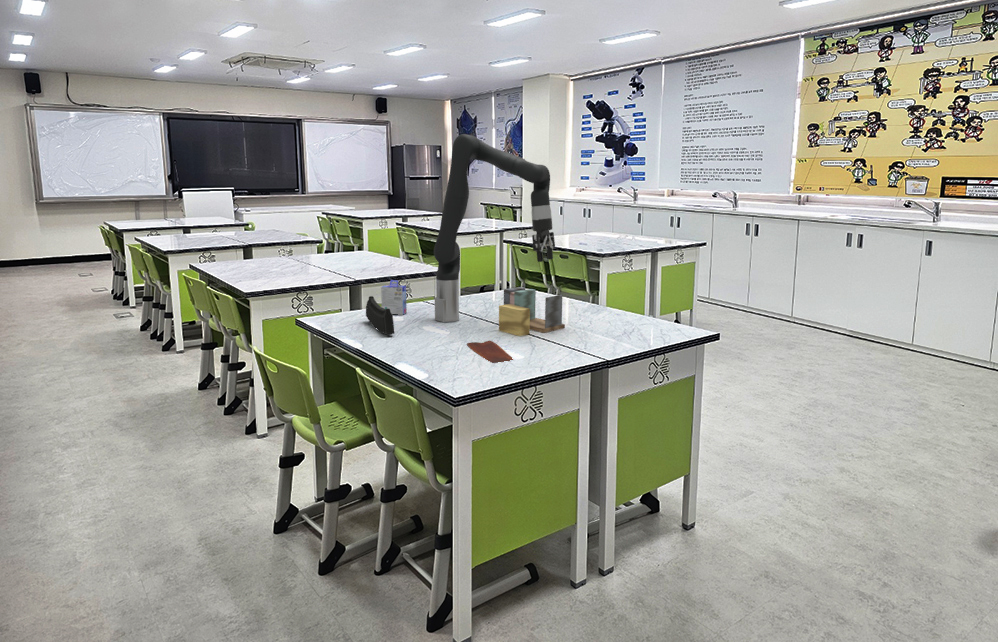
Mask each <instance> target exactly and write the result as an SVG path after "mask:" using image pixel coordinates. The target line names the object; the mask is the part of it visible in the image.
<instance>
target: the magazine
mask: <svg viewBox="0 0 998 642" xmlns="http://www.w3.org/2000/svg"><path fill="white" fill-rule="evenodd" d="M365 317H366V318H367V320H368V321H369V323H370V324H371V326H372V325H373V326H374V327H375V328H377V329H378V330H379V331H380V332H379V331H378V330H377V331H378V332H379V333H381V332H382V333H381V334H385V335H394V334H395V327H394V326H395V325H394V318H393V315H392V313H391V312H390V309H389V308H388V309H384V308H382V305H381V306H380V304H379V303H378V302H377V301H376V299H375V298H374V296H373V295H369V296H368V300H367V302H366V305H365ZM373 326H372V327H373ZM374 327H373V328H374ZM375 328H374V329H375Z"/></svg>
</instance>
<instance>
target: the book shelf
mask: <svg viewBox="0 0 998 642" xmlns="http://www.w3.org/2000/svg"><path fill="white" fill-rule="evenodd" d="M536 293H537V291H536V289H533V288H529V289H528V288H526V287H522V286H518V287H510V288H504V289H503V305H506V304H511V305H515V306H520V307H524V308H529V309H530V330H531V331H535V332H537V333H538V332H539V333H548V332H552V331H553V332H554V331H558V330H562V329H563V330H564V329H565V328H566V324H564V323H563V322H562V321H563V294H559V295H553V296H547V297H545V302H544V303H545V306H544V308H545V309H544V319H542V318H538V317H536V300H537V299H536Z"/></svg>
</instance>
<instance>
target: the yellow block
mask: <svg viewBox="0 0 998 642" xmlns="http://www.w3.org/2000/svg"><path fill="white" fill-rule="evenodd" d="M498 331H499V332H503V333H507V334H510V335H514V336H518V337H523V336H528V335H530V332H531V331H530V309H529V308H524V307H520V306H515V305H511V304H506V305H504V304H502V305H501V304H500V305H499V306H498Z"/></svg>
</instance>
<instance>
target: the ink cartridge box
mask: <svg viewBox="0 0 998 642" xmlns="http://www.w3.org/2000/svg"><path fill="white" fill-rule="evenodd" d="M394 282H395V283H394ZM380 292H381V293H380V294H381V296H380V298H381V301H380V302H381V307H382V308H384V309H388V308H389V309H390V312H391V313H392V314H398V315H397V316H403V314H404V315H406V314H407V312H408V311H407V285H399V280H396V279H390V282H389V285H387V284H386V285H383V286H381V287H380ZM405 313H406V314H405Z"/></svg>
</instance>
